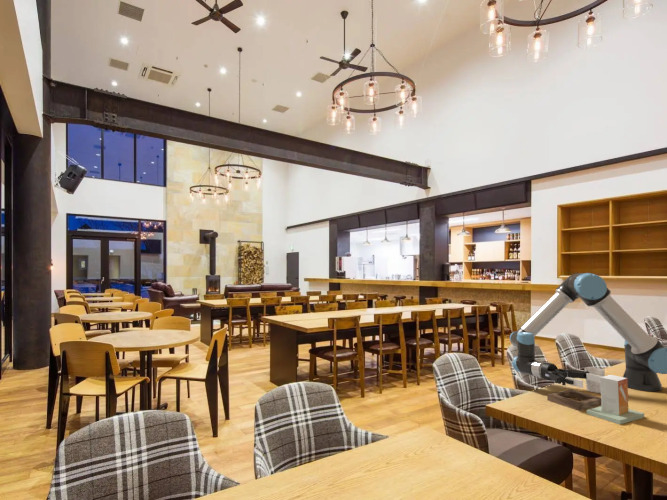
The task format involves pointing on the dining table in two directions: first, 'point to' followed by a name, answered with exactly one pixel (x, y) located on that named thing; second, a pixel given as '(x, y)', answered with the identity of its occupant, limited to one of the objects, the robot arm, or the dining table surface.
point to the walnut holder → (563, 396)
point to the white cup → (593, 385)
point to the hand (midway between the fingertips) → (593, 382)
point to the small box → (614, 394)
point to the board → (617, 419)
